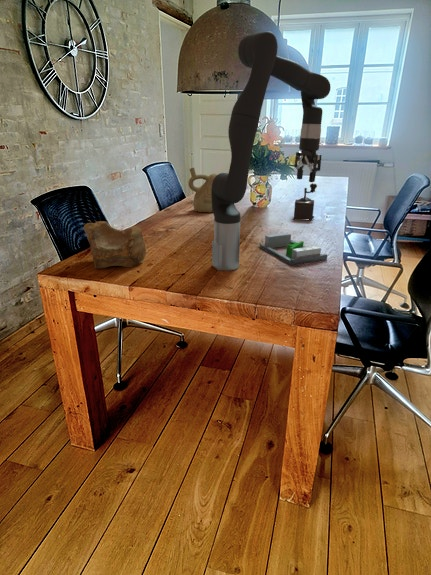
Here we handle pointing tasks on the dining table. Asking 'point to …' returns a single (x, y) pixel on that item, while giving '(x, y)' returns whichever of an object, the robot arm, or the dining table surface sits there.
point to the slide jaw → (277, 240)
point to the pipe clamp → (293, 246)
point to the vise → (299, 255)
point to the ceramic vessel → (202, 192)
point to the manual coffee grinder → (305, 205)
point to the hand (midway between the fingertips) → (305, 180)
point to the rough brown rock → (115, 245)
